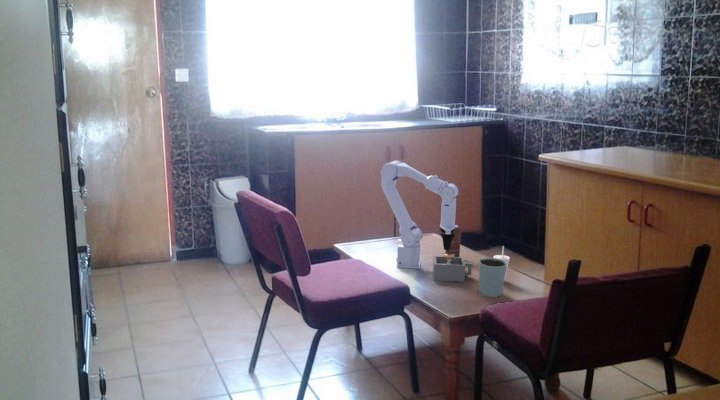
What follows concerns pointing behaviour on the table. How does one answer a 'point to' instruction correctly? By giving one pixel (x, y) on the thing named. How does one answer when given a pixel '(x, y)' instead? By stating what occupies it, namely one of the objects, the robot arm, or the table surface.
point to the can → (455, 242)
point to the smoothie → (503, 259)
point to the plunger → (449, 257)
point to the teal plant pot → (491, 277)
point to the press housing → (450, 269)
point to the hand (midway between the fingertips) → (446, 247)
